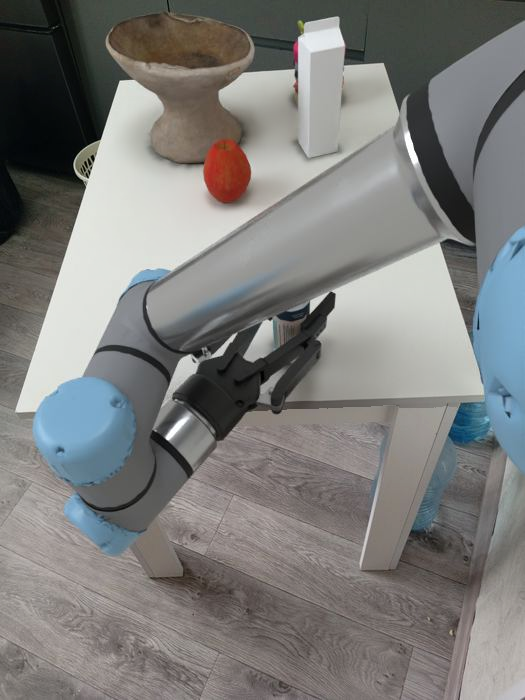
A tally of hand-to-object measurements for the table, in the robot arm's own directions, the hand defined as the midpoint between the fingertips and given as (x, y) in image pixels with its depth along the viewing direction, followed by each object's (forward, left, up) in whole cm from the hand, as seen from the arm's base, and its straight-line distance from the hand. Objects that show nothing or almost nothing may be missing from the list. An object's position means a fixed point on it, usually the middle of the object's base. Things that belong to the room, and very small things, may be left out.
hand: (314, 290), depth 66 cm
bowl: (+53, +9, -8) cm, 54 cm away
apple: (+33, +6, -8) cm, 34 cm away
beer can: (-3, +4, -7) cm, 9 cm away
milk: (+43, -13, -8) cm, 45 cm away
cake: (+60, -18, -8) cm, 63 cm away
